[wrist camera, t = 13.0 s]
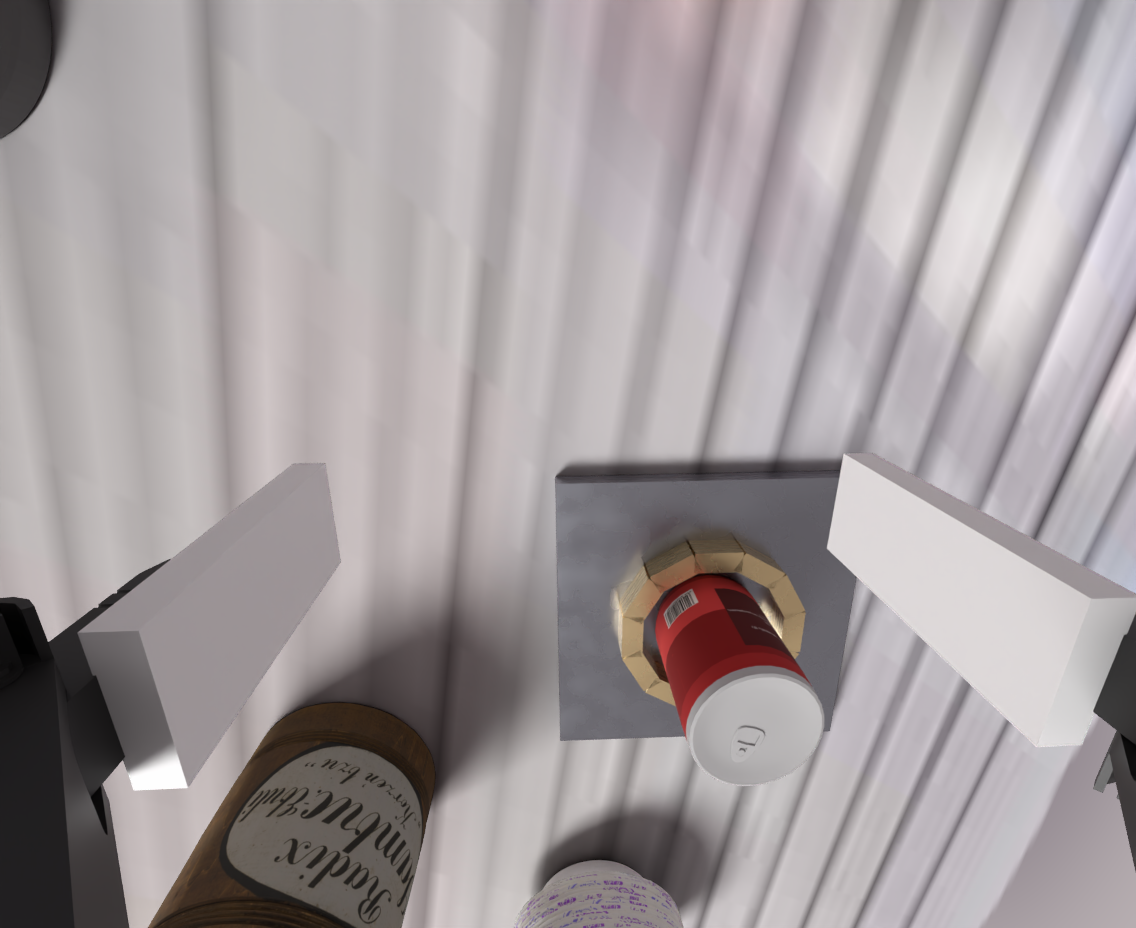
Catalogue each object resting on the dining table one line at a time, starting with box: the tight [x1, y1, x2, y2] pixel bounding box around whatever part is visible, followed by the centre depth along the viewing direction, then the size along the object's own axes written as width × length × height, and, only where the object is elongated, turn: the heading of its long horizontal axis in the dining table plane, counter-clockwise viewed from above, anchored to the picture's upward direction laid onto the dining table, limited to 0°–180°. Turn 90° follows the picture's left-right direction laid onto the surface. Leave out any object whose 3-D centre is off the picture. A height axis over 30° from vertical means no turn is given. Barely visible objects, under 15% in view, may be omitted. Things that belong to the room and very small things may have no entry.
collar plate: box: [555, 471, 856, 741], centre depth 40 cm, size 22×22×4 cm
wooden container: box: [148, 703, 435, 928], centre depth 35 cm, size 15×15×22 cm
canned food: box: [655, 575, 824, 786], centre depth 35 cm, size 8×8×11 cm
